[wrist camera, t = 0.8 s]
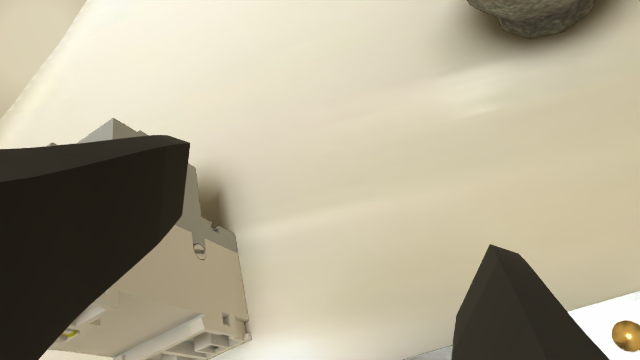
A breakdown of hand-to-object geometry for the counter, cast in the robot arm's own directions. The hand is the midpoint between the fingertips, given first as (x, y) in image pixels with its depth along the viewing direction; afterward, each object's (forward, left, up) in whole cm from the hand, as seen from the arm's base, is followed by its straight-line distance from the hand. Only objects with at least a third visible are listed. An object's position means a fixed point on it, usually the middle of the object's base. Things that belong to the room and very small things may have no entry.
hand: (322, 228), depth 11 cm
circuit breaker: (+11, +19, -17) cm, 28 cm away
